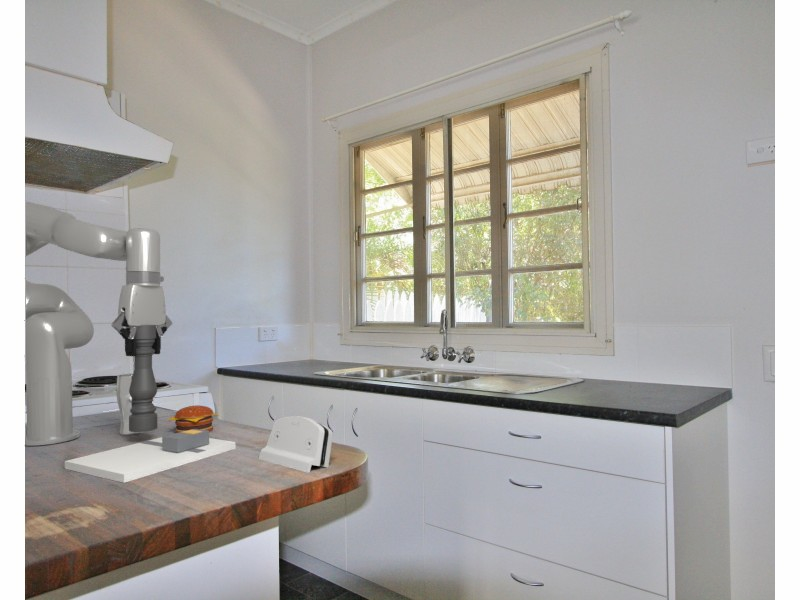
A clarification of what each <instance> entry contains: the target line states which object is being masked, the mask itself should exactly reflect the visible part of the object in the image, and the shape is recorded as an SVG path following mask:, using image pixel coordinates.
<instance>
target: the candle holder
mask: <svg viewBox="0 0 800 600" xmlns="http://www.w3.org/2000/svg"><path fill="white" fill-rule="evenodd" d="M134 339H136V356H133V357H134V363H133V364H134V369H133V377H132V381H131V384H130V388H129V393H130V396H131V397H132V398H133V399H134V401H133V402H134V405H133V406H132V408H131V409H130V412H131V413H132V415H130V416H129V431H131V432H144V433H146V432H151V431H154V430H157V429H158V413H156V410H157V407H156V406H155V404H154V403H153V401H154V398H155V396H156V395H157V392H158V385H157V382H156V378H155V373H154V370H153V356H154V355H155V354H154V353H155V350H154V349H153V348H152V346H153V343H154V342H155V339H156V325H150V326H139V327H137V330H136V333H135V336H134Z"/></svg>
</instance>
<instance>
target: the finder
mask: <svg viewBox="0 0 800 600" xmlns="http://www.w3.org/2000/svg"><path fill="white" fill-rule="evenodd" d="M209 438H210V432H209V431H206V430H199V429H191V430H187V431H183V432H179V433H176V432H175V433H172V434H166V435H163V436H162V450H166V451H171V452H177V453H178V452H182V451H185V450H189V449H192V448H196V447H199V446H203V445H207V444H209Z"/></svg>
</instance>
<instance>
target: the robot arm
mask: <svg viewBox="0 0 800 600" xmlns="http://www.w3.org/2000/svg"><path fill="white" fill-rule="evenodd" d="M49 244H51V245H54V246H57V247H58V248H61V249H63V250H67V251H70V252H73V253H77V254H80V255H83V256H87V257H90V258H95V259H104V260H105V259H106V260H111V261H118V262H119V261H120V262H125V285H122V286H121V290H120V294H119V299H118V308H117V309H118V311H117V317H116V318H115V319H114V320H113V322H112V323H111V327H112V328H113V329H114V330H115V331H117V333H118V334H119V335H120V336H121V337H122V339H123V340H124V351H125V356H126V357H134V356H136V339H134V336H135V333H136V330H137V327H139V326H150V325H156V339H155V342H154V343H153V346H152V348H153V349H154V350H155V353H154V354H153V355H160V354H161V349H162V343H161V342H162V339H161V338H163V337H164V335H165V333H166V332H167V331H168V329H169V328H170V327H171V326H172V325H173V321H172V320H171V319H170V317H168V315H167V313H166V311H167V309H166V300H165V299H166V298H165V293H164V290H163V289H164V288H163V286H162V285H161V283H163V282H164V281H165V277H164V276H162V275H161V234H160V233H159V231H157V230H155V229H151V228H141V227H140V228H131V229H128V230H127V231H126V230H120V229H117V228H112V227H107V226H101V225H99V224H93V223H90V222H86V221H82V220H79V219H77V218H76V217H75V216H74V215H73V214H71V213H69V212H65V211H61V210H58V209H57V208H55V207H51V206H49V205H48V206H47V205H43V204H39V203H35V202H31V201H26V256H25V257H27V256H29V255H31V254H33V253H35V252H37V251H38V250H40V249H42V248H43V247H45V246H47V245H49ZM94 332H95V328H94V324H93V322H92V320H91V319H90V317H89V316H88V315H87V314H86V313H85V312H84V311H83V309H82V308H81V307H80V306H79V305H78V304H77V303H76V302H75V301H74V299H72V298H71V296H70V295H68V294H67V292H65V291H64V290H63V289H61V288H60V287H58V286H56V285H52V284H46V283H34V282H30V281H28V280H27V279H26V364H25V384H26V386H25V387H26V388H25V389H26V390H25V391H26V392H25V393H26V425H25V429H26V435H25V436H26V445H25V446H26V447H27V446H30V447H31V446H46V445H54V444H55V445H56V444H60V443H65V442H68V441H72V440H76V439H77V438H79V437H80V436H81V432H80V430H77V429H74V426H73V422H74V421H73V420H74V418H73V376H72V374H73V373H72V365H71V364H72V363H71V360H70V358H69V356H68V354H67V352H66V351H67V350H69V349H77V348H81V347H84V346H86V345H87V344H89V343H90V342H91V340H92V339H93V337H94V334H95V333H94Z"/></svg>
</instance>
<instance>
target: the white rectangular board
mask: <svg viewBox="0 0 800 600" xmlns="http://www.w3.org/2000/svg"><path fill="white" fill-rule="evenodd" d="M162 437H163V436H162ZM162 437H158V438H153V439H149V440H144V441H140V442H136V443H133V444H129V445H124V446H121V447H116V448H112V449H108V450H104V451H100V452H95V453H92V454H88V455H85V456H80V457H76V458H72V459H68V460H65V461H64V469H66V470H68V471H74V472H78V473H81V474H86V475H90V476H94V477H98V478H103V479H106V480H111V481H116V482H118V483H119V482H120V483H124V484H125V483H127V482H128V483H129V482H132V481H134V480H138V479H141V478H144V477H148V476H151V475H154V474H157V473H161V472H163V471H168V470H171V469H174V468H177V467H180V466H184V465H187V464H190V463H194V462H197V461H199V460H200V461H201V460H203V459H206V458H210V457H213V456H216V455H219V454H220V455H221V454H223V453H226V452H229V451H233V450H236V441H231V440H225V439H217V438H211V437H209V444H207V445H203V446H199V447H196V448H192V449H189V450H185V451H182V452H178V453H177V452H171V451H166V450H162Z"/></svg>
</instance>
